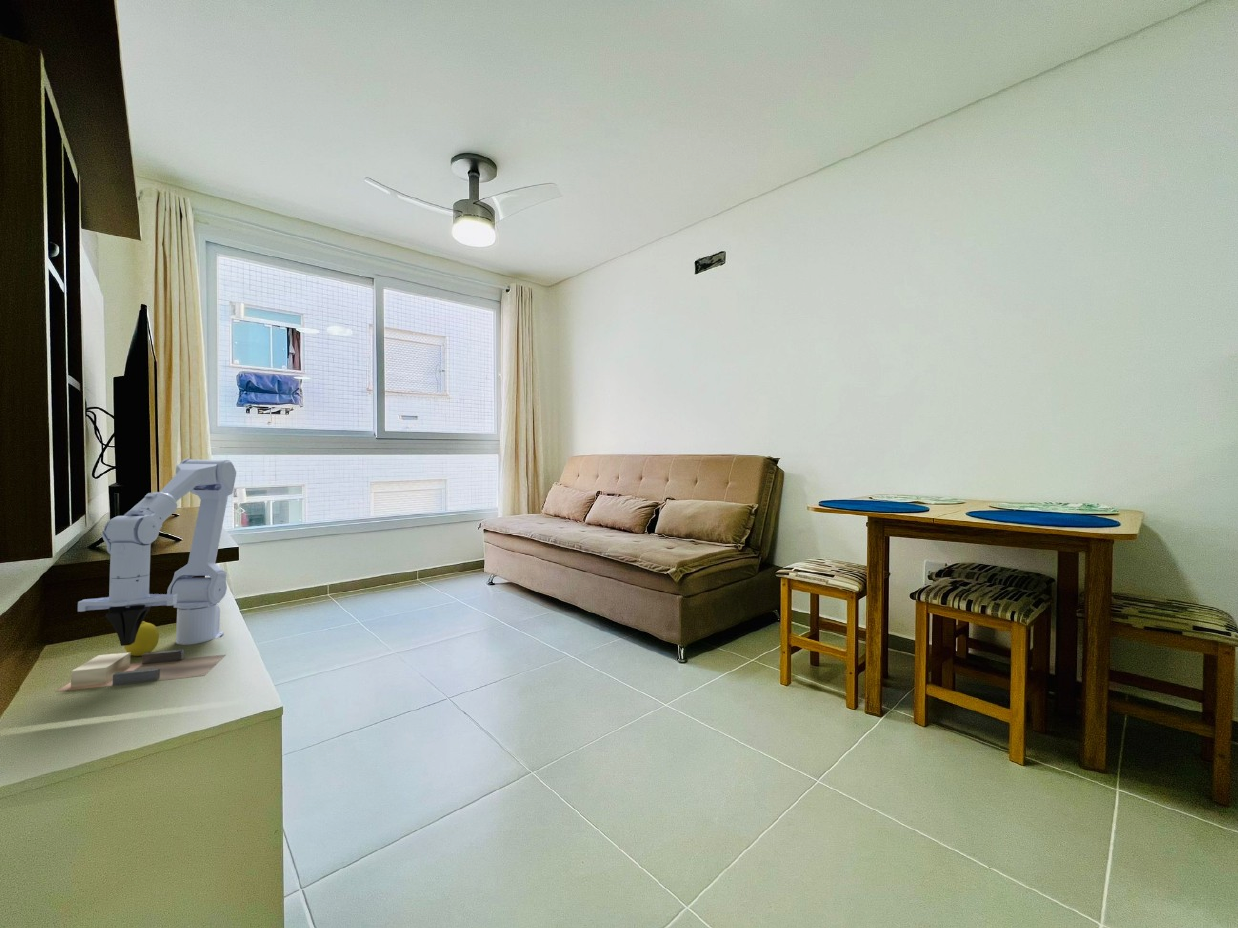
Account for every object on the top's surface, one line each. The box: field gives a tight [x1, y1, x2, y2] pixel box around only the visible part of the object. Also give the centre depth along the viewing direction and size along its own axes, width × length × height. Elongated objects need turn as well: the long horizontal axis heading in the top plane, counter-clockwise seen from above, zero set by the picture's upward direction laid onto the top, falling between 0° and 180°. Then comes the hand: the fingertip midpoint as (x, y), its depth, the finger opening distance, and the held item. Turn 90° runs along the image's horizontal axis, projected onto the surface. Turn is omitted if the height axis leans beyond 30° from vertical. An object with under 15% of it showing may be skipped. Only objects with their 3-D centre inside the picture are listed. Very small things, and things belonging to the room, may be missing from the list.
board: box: [55, 654, 226, 693], centre depth 100 cm, size 12×22×1 cm, turn 112°
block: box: [70, 652, 131, 687], centre depth 97 cm, size 8×5×3 cm, turn 22°
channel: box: [113, 649, 185, 686], centre depth 100 cm, size 12×6×2 cm, turn 22°
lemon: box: [123, 620, 160, 657], centre depth 109 cm, size 6×6×8 cm
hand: (127, 643), depth 99 cm, fingers closed
